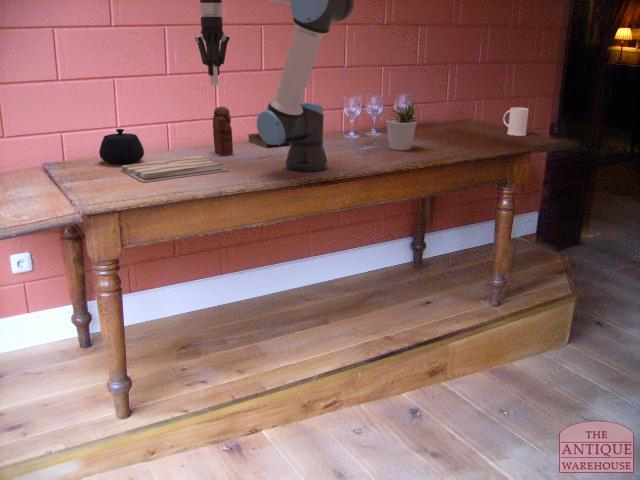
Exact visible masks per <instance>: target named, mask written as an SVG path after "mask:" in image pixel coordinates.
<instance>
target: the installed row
mask: <svg viewBox="0 0 640 480" xmlns="http://www.w3.org/2000/svg"><path fill="white" fill-rule="evenodd" d="M202 160H210V159H209V158H206V157H204V156H201V155H199V156H198V155H197V156H190V157H181V158H174V159H167V160H166V159H165V160H159V161H149V162H140V163H134V164H129V165H121V170H123V171H125V172H127V173H129V174H131V173H133V169H140V168H148V167H156V166H164V165H171V164H179V163H187V162H195V161H202Z"/></svg>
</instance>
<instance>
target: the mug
mask: <svg viewBox="0 0 640 480" xmlns="http://www.w3.org/2000/svg"><path fill="white" fill-rule="evenodd" d="M529 110H530V109H529V108H526V107H519V106H516V107H515V106H513V107H510V109H509V110H507V111H506V112H505V113H504V115H503V117H502V118H503V120H502V121H503V123H504V125H505V126H506V127H507V132H506V135H508V136H513V135H514V137H515V136H516V137H523V136H527V125H528V117H529ZM508 113H509V119H508V123H507V122H506V115H507V114H508Z"/></svg>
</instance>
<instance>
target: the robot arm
mask: <svg viewBox="0 0 640 480" xmlns="http://www.w3.org/2000/svg"><path fill="white" fill-rule="evenodd" d="M266 1H268V2H273V3H279V4H283V5H289V6H290V9H291V10H290V12H291V14H292V16H293V19H292V23H293V24H294V26H295V30H294V33H293V36H292V40H291V42H290V46H289V50H288V52H287V56H286V60H285V63H284V67H283V71H282V73H281V77H280V79H279V85H278V88H277V90H276V94H275V96H273V97H272V98H270V99H269V102H268V105H267V108H266V109H264V110H262V111H261V112H259V114H258V115H257V117H256V129H257V131H258V133H259V135H260V136H261V138H262V139H263V140H264V141H265V142H266V143H268V144H271V145H276V144H278V145H280V144H283V143H287V142H290V146H289V149H288V153H287V156H286V159H285V168H286V169H287V170H290V171H295V172H296V171H297V172H318V171H323V170H326V169H328V159H327V155H326V151H325V148H324V117H325V116H324V115H325V114H324V107H323V105H322V104H320V103H315V102H308V101H307V102H306V101H303V98H304V94H305V91H306V90H307V89H306V88H307V85H308V82H309V79H310V76H311V72H312V69H313V66H314V63H315V60H316V57H317V54H318V51H319V48H320V43H321V41H322V39H323V37H324V36H326V35H328V34H329V32H330V28H331V27H332V23H338V22H342V21H345V20H347V19H348V18H349V17H350V16H351V15H352V13H353V12H354V8H355V3H356V0H266ZM222 4H223V1H222V0H199V7H200V15H201V17H200V28H201V31H200V34H199V35H198V36H195V37H194V39H195V42H196V43H197V46H198V50H199V53H200V58H201V61H202V64H203V65H204V66H207V69H208V72H207V73H208V76H209V77H210V86H219V77H218V76H220V67H221V65H224V64H225V60H226V53H227V48H228V43H229V41H230V36H227V35H226V34H224V31H223V17H222V15H223V5H222ZM204 42H205V43H204Z"/></svg>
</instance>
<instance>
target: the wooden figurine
mask: <svg viewBox="0 0 640 480" xmlns="http://www.w3.org/2000/svg"><path fill="white" fill-rule="evenodd" d="M231 120H232V119H231V115H230V110H229V108H228V107H226V106H218V107H216V108H215V109H214V111H213V117H212V128H213V129H212V131H213V133H212V135H213V145H214V146H213V147H214V152H215V153H216V154H218V155H220V156H222V157H223V156H224V157H226V156H230V155H232V154H233V152H234V149H233V148H234V147H233V130H232V126H231Z"/></svg>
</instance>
